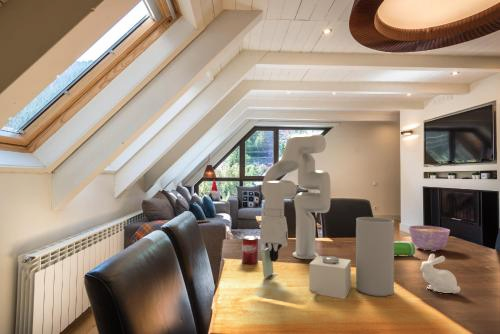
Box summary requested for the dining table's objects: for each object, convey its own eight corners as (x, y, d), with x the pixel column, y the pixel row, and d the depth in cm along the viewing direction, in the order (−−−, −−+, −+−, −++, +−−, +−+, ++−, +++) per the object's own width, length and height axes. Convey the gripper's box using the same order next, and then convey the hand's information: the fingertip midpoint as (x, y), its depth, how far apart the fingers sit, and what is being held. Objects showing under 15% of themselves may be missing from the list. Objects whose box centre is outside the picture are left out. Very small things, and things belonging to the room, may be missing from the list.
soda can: (256, 267, 140) (256, 239, 140) (240, 266, 142) (240, 239, 142) (259, 263, 147) (259, 236, 147) (243, 261, 149) (244, 235, 149)
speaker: (408, 254, 166) (408, 239, 166) (415, 258, 159) (415, 242, 159) (374, 254, 166) (374, 239, 166) (381, 258, 158) (381, 242, 158)
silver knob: (324, 283, 118) (324, 255, 118) (339, 286, 115) (340, 257, 115) (320, 288, 113) (320, 259, 113) (336, 291, 110) (337, 261, 110)
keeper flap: (270, 272, 129) (268, 247, 129) (273, 272, 128) (271, 247, 129) (263, 277, 122) (261, 250, 123) (266, 277, 122) (264, 250, 123)
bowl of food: (450, 248, 180) (450, 227, 180) (449, 256, 163) (449, 233, 163) (410, 244, 190) (410, 224, 191) (406, 250, 174) (406, 229, 174)
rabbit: (418, 288, 116) (418, 255, 116) (427, 282, 122) (427, 251, 123) (457, 298, 107) (457, 262, 107) (464, 291, 114) (464, 257, 114)
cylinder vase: (390, 300, 105) (390, 223, 106) (352, 292, 112) (352, 220, 112) (396, 288, 116) (396, 219, 116) (360, 282, 123) (360, 216, 123)
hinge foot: (272, 276, 128) (272, 273, 128) (277, 277, 127) (277, 274, 127) (266, 281, 122) (266, 279, 122) (270, 282, 121) (270, 279, 121)
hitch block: (317, 282, 122) (318, 255, 122) (350, 287, 117) (350, 259, 117) (309, 292, 111) (309, 263, 111) (344, 299, 106) (345, 268, 106)
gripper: (252, 212, 125) (252, 260, 124) (289, 215, 118) (289, 265, 118) (260, 210, 131) (260, 256, 131) (295, 213, 125) (295, 260, 125)
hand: (273, 260), depth 124 cm, fingers closed
